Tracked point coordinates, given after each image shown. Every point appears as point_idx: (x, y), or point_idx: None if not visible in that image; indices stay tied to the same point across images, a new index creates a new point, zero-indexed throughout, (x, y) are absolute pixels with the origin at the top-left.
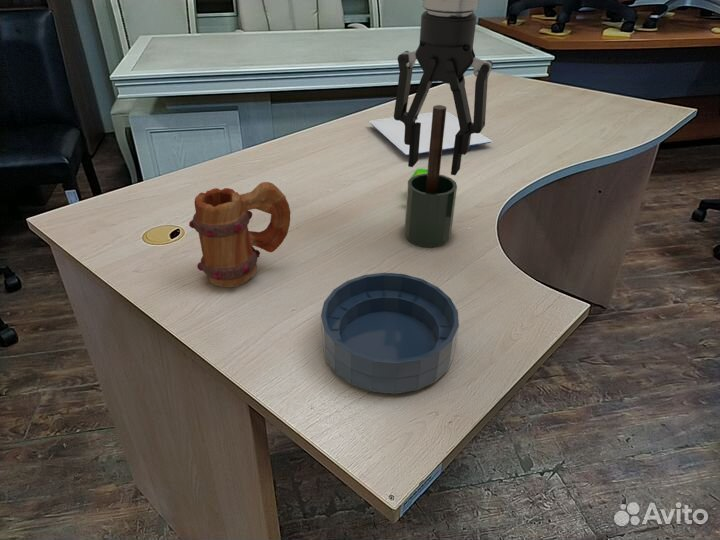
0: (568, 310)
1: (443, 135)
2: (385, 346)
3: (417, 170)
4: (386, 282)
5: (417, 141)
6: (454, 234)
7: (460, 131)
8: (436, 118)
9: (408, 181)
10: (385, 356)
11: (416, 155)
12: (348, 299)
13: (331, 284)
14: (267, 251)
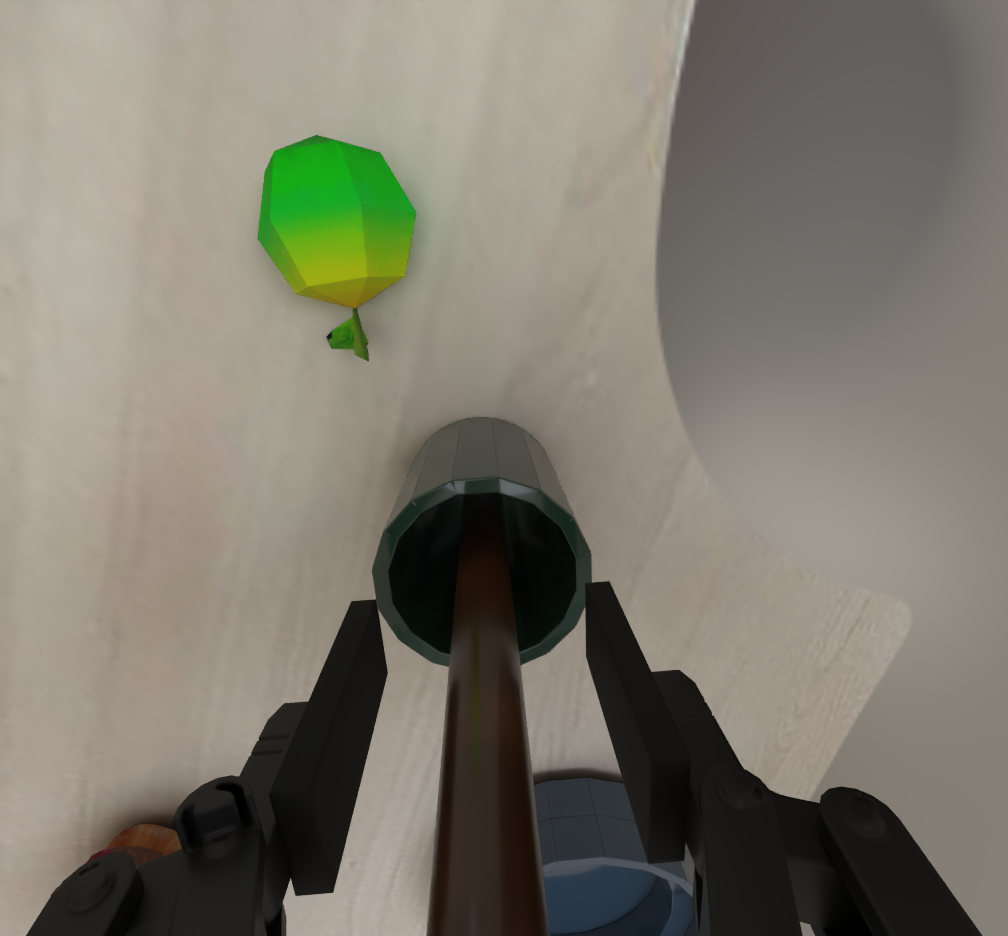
0: (895, 622)
1: (532, 779)
2: (568, 880)
3: (278, 231)
4: None
5: (353, 725)
6: (558, 440)
7: (665, 796)
8: None
9: (380, 608)
10: (578, 894)
11: (371, 656)
12: None
13: (369, 777)
14: None
